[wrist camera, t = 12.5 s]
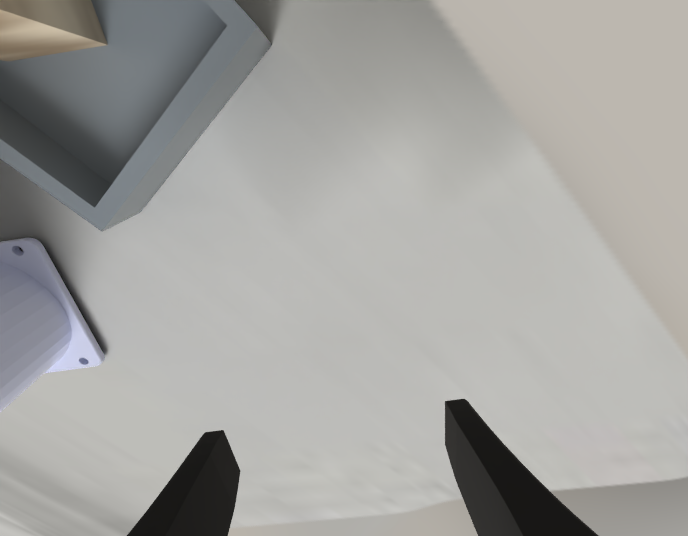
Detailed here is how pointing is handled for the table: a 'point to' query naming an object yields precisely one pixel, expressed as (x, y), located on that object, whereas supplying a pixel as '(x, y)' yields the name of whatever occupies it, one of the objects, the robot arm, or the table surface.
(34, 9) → the block
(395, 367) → the table surface
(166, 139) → the tray
